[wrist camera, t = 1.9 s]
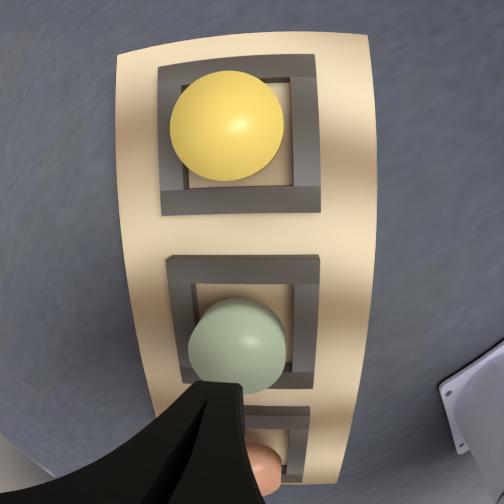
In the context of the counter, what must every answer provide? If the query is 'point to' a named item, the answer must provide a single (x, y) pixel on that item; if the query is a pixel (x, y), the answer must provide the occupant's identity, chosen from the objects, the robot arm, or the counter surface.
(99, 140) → the counter surface
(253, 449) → the terracotta button
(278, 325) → the sage button
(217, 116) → the mustard button
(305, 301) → the button console
